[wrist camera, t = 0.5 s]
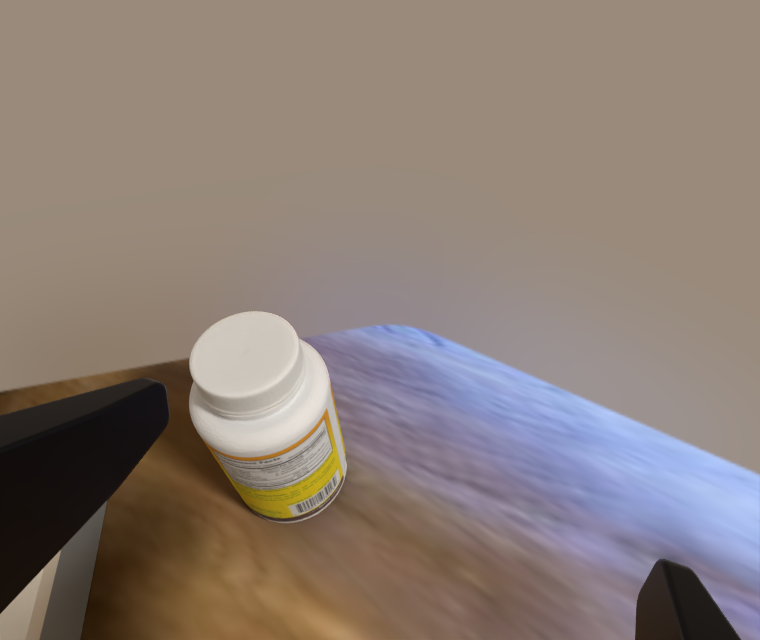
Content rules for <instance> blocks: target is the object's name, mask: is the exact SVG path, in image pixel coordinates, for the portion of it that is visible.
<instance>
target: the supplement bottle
mask: <svg viewBox="0 0 760 640" xmlns="http://www.w3.org/2000/svg"><path fill="white" fill-rule="evenodd" d="M189 367H190V373H191V376H192V378H193V380H194V382H193V384H192V387H191V391H190V396H189V410H190V416H191V419H192V422H193V424H194V426H195V428H196V430H197V432H198V434H199V435H200V437H201V438H202V440H203V441H204V442H205V444H206V445H207V447H208V448H209V450H210V451H211V453H212V455H213V456H214V458H215V459H216V461H217V462H218V463H219V465H220V467H221V468H222V469H223V471H224V473H225V474H226V476H227V477H228V478H229V480H230V481H231V483H232V484H233V486H234V487H235V489H236V490H237V492H238V494H239V495H240V496H241V498H242V500H243V501H244V502H245V504H246V505H247V506H248V507H249V508H250V509H251V510H252V511H253V512H254V513H256V514H257V515H259V516H260V517H262V518H264V519H266V520H269V521H272V522H278V523H294V522H299V521H303V520H306V519H308V518H311V517H313V516H315V515H316V514H318V513H320V512H321V511H322V510H324V509H325V508H326V507H327V506H328V505H329V504H330V503H331V502H332V501H333V500H334V499H335V497H336V496H337V494H338V493H339V491H340V489H341V487H342V485H343V482H344V479H345V476H346V470H347V458H346V451H345V447H344V442H343V438H342V433H341V428H340V424H339V419H338V415H337V410H336V406H335V401H334V396H333V391H332V387H331V382H330V377H329V374H328V370H327V368H326V365H325V363H324V361H323V359H322V358H321V356H320V355H319V353H318V352H317V351H316V350H315V349H314V348H313V347H312V346H310V345H309V344H308V343H306V342H304V341H303V340H301V339H299V338H298V336H297V334H296V332H295V330H294V328H293V327H292V326H291V325H290V324H289V323H288V322H287V321H286V320H285V319H283V318H281V317H279V316H277V315H274V314H271V313H267V312H259V311H254V312H253V311H252V312H243V313H238V314H235V315H232V316H229V317H226V318H224V319H222V320H220V321H219V322H217V323H215V324H214V325H212V326H211V327H210V328H208V329H207V330H206V331H205V332H204V333H203V334H202V335H201V336H200V338H199V339H198V340H197V342H196V343H195V345H194V346H193V349H192V352H191V355H190V360H189Z"/></svg>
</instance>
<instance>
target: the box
mask: <svg viewBox="0 0 760 640" xmlns="http://www.w3.org/2000/svg"><path fill="white" fill-rule="evenodd" d="M106 505H107V501H106V502H105V503H104V504H103V506H102V507H101V508H100V509H99V510H98V511H97V512H96V513H95V514H94V515H93V516H92V517H91V518H90V519H89V520H88V521H87V523H86V524H85V525H84V526H83V527H82V528H81V529H80V530H79V531H78V532H77V533H76V534H75V535H74V536H73V537H72V538H71V540H70V541H69V542H68V543H67V544H66V545H65V546H64V547H63V548H62V549H61V550H60V551H59V552H58V553H57V554H56V555H55V557H54V558H53V559H52V560H51V561H50V562H49V563H48V564H47V565H46V566H45V567H44V568H43V569H42V570H41V571H40V572H39V574H38V575H37V576H36V577H35V578H34V579H33V580H32V581H31V582H30V583H29V584H28V585H27V586H26V587H25V588H24V589H23V591H22V592H21V593H20V594H19V595H18V596H17V597H16V598H15V599H14V600H13V601H12V602H11V603H10V604H9V605H8V606H7V608H6V609H5V610H4V611H3V612H2V613H1V614H0V640H80V638H81V633H82V628H83V623H84V618H85V613H86V608H87V603H88V597H89V592H90V587H91V582H92V577H93V572H94V567H95V562H96V556H97V551H98V546H99V541H100V536H101V531H102V526H103V521H104V515H105V510H106Z"/></svg>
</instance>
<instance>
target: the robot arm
mask: <svg viewBox="0 0 760 640" xmlns="http://www.w3.org/2000/svg"><path fill="white" fill-rule="evenodd" d="M169 419H170V412H169V404H168V396H167V389H166V387H165V385H164V384H163V383H162V382H159V381H156V380H153V379H150V378H140V379H136V380H132V381H128V382H124V383H121V384H117V385H113V386H109V387H106V388H102V389H98V390H94V391H90V392H87V393H83V394H79V395H75V396H72V397H68V398H64V399H60V400H56V401H53V402H49V403H45V404H41V405H38V406H34V407H30V408H26V409H22V410H19V411H15V412H11V413H7V414H4V415H0V614H1V613H2V612H3V611H4V610H5V609H6V608H7V606H8V605H9V604H10V603H11V602H12V601H13V600H14V599H15V598H16V597H17V596H18V595H19V594H20V593H21V592H22V591H23V589H24V588H25V587H26V586H27V585H28V584H29V583H30V582H31V581H32V580H33V579H34V578H35V577H36V576H37V575H38V574H39V572H40V571H41V570H42V569H43V568H44V567H45V566H46V565H47V564H48V563H49V562H50V561H51V560H52V559H53V558H54V557H55V555H56V554H57V553H58V552H59V551H60V550H61V549H62V548H63V547H64V546H65V545H66V544H67V543H68V542H69V541H70V540H71V538H72V537H73V536H74V535H75V534H76V533H77V532H78V531H79V530H80V529H81V528H82V527H83V526H84V525H85V524H86V523H87V521H88V520H89V519H90V518H91V517H92V516H93V515H94V514H95V513H96V512H97V511H98V510H99V509H100V508H101V507H102V506H103V504H104V503H105V502H106V501H107V500H108V499H109V498H110V497H111V496H112V495H113V494H114V492H115V491H116V490H117V489H118V488H119V487H120V485H121V484H122V483H123V482H124V480H125V479H126V478H127V477H128V475H129V474H130V473H131V472H132V470H133V469H134V468H135V466H136V465H137V464H138V463H139V461H140V460H141V459H142V458H143V456H144V455H145V454H146V452H147V451H148V450H149V449H150V447H151V446H152V445H153V443H154V442H155V441H156V440H157V438H158V437H159V436H160V435H161V433H162V432H163V431H164V429H165V428H166V426H167V424H168V422H169ZM635 640H741V639H740V637H739V636H738V634H737V633H736V631H735V630H734V628H733V627H732V626H731V624H730V623H729V621H728V620H727V618H726V617H725V616H724V614H723V613H722V611H721V610H720V608H719V607H718V605H717V604H716V603H715V601H714V600H713V598H712V597H711V595H710V594H709V592H708V591H707V590H706V588H705V587H704V585H703V584H702V582H701V581H700V580H699V578H698V577H697V575H696V574H695V573H694V572H693V571H692V570H691V569H690V568H689V567H687V566H684V565H681V564H678V563H675V562H673V561H670V560H667V559H659V560H658V561H657V562H656V563H655V565H654V567H653V568H652V570H651V572H650V574H649V576H648V577H647V579H646V581H645V583H644V585H643V586H642V588H641V590H640V592H639V595H638V600H637V607H636V633H635Z"/></svg>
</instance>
